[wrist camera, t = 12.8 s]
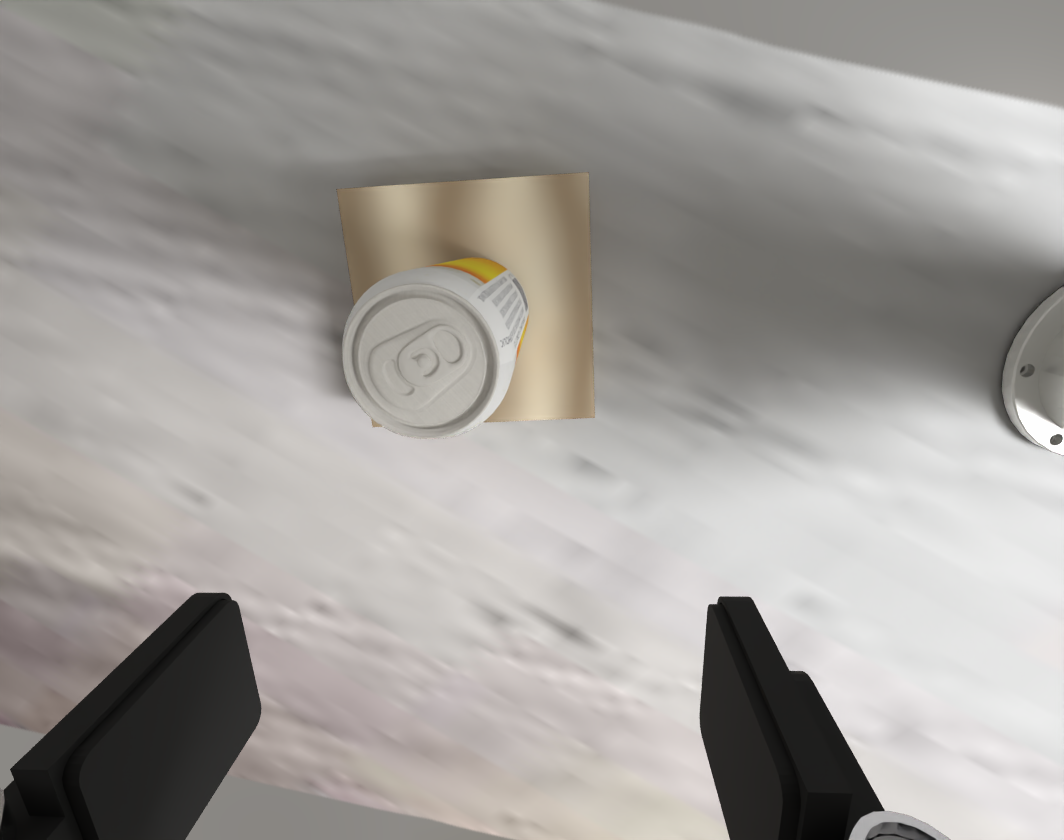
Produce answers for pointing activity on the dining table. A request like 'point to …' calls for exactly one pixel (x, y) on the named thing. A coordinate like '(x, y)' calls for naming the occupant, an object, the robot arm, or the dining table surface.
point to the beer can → (435, 346)
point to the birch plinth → (512, 241)
